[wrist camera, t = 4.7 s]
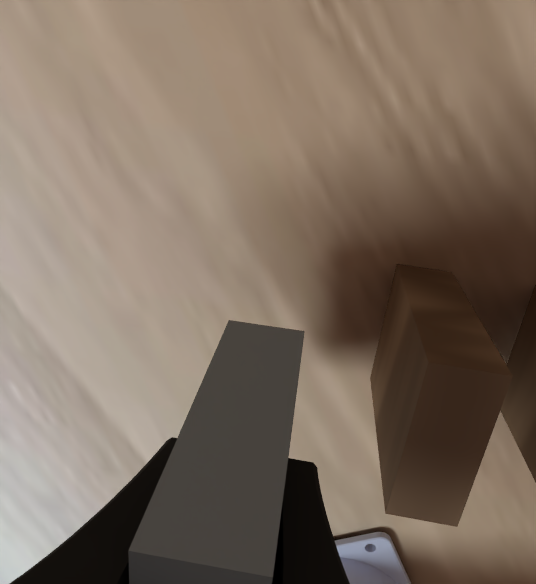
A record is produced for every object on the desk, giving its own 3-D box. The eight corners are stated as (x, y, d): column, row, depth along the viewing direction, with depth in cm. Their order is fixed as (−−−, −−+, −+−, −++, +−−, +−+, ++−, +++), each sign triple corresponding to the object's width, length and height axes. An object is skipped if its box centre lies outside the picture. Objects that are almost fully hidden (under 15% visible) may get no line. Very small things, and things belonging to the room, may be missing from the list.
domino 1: (304, 331, 13) (272, 577, 7) (283, 476, 15) (243, 770, 9) (229, 320, 13) (128, 550, 7) (217, 465, 15) (132, 746, 9)
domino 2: (451, 272, 18) (512, 376, 12) (419, 386, 20) (457, 526, 14) (396, 264, 19) (428, 362, 12) (370, 377, 21) (385, 513, 14)
